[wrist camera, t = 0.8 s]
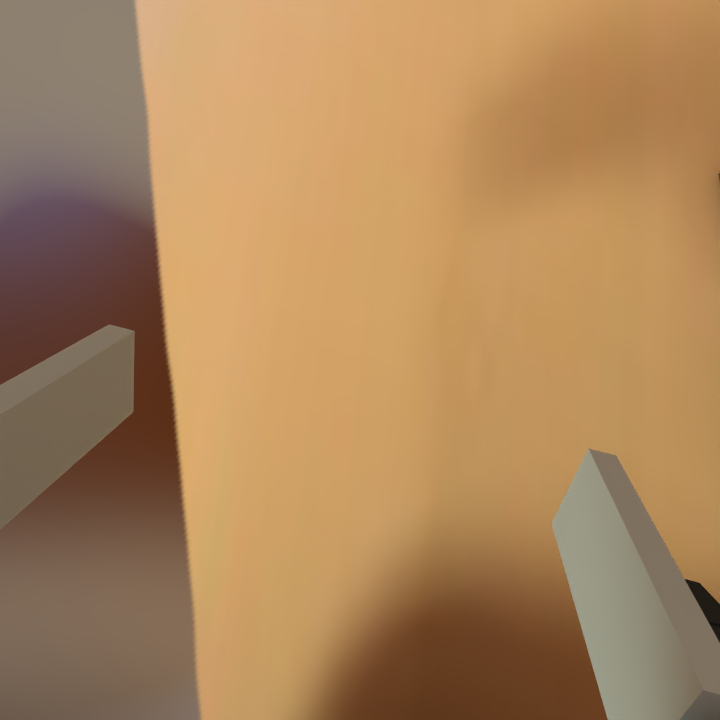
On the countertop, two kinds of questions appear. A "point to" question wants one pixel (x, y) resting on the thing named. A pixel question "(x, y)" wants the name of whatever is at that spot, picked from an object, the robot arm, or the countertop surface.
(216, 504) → the countertop surface
